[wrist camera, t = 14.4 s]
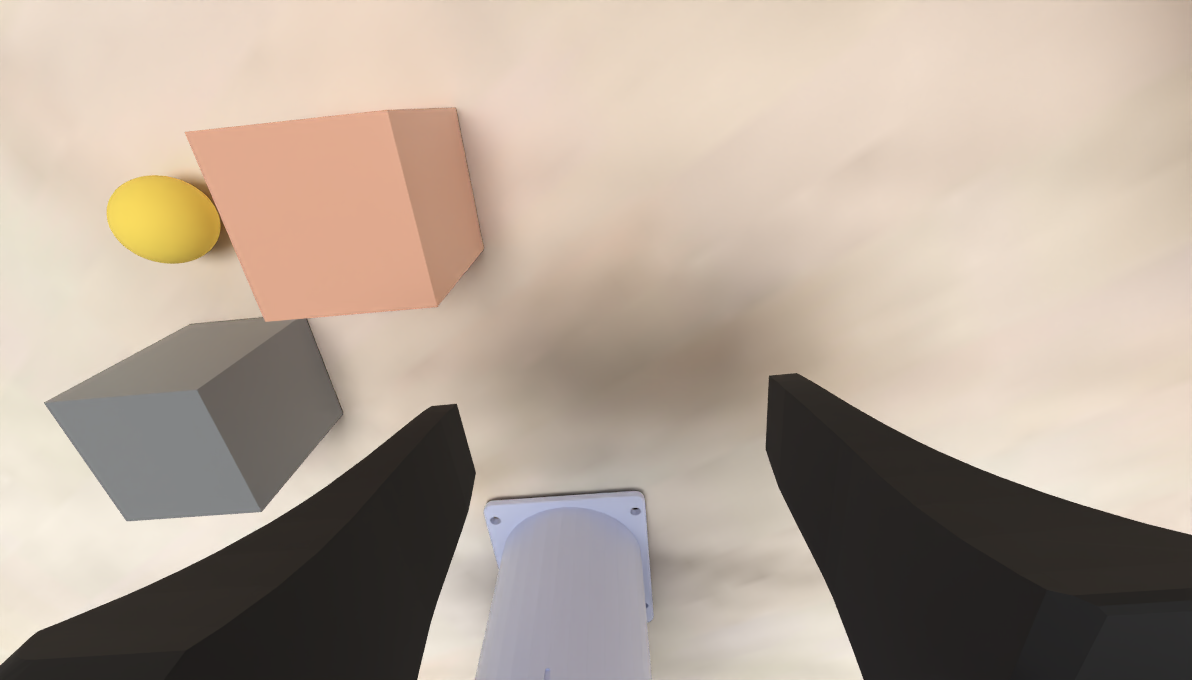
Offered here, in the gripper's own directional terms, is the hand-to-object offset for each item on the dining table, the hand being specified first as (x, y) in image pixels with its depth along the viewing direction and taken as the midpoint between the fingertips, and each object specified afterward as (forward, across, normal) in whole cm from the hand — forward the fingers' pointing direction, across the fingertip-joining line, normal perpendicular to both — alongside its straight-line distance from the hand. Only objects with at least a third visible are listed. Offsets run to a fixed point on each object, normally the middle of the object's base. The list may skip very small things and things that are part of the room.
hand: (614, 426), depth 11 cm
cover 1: (+9, +7, -5) cm, 13 cm away
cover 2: (+9, +15, +2) cm, 18 cm away
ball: (+9, +15, -5) cm, 18 cm away
